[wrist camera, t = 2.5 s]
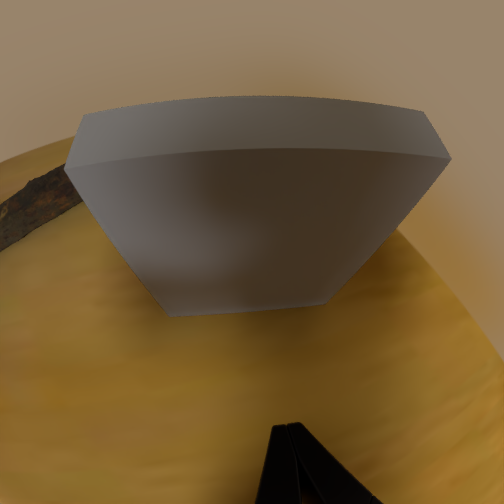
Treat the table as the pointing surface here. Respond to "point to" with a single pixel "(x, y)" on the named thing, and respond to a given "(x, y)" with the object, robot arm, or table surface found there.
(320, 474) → the robot arm
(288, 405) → the table surface
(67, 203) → the dark brown rough rod
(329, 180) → the tile
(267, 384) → the table surface
